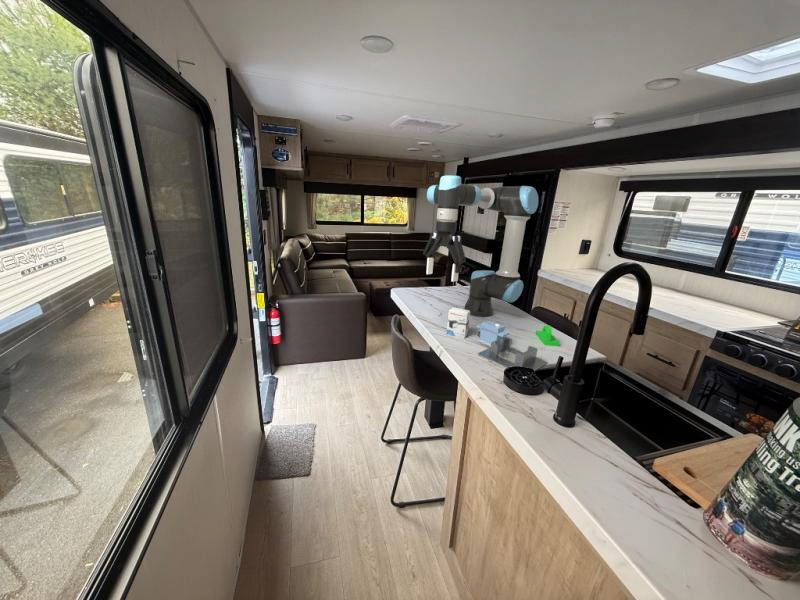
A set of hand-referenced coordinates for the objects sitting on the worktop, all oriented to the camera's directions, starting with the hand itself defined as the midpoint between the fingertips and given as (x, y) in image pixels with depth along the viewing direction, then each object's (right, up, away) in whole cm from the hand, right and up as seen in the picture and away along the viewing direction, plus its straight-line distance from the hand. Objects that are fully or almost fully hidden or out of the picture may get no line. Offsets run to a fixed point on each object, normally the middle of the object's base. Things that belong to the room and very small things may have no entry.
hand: (441, 277), depth 119 cm
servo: (+23, -27, +13) cm, 38 cm away
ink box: (+9, -25, +18) cm, 32 cm away
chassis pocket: (+27, -31, -1) cm, 41 cm away
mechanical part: (+49, -27, +18) cm, 59 cm away
